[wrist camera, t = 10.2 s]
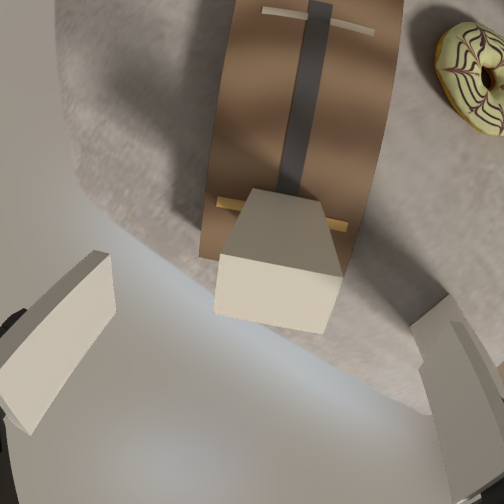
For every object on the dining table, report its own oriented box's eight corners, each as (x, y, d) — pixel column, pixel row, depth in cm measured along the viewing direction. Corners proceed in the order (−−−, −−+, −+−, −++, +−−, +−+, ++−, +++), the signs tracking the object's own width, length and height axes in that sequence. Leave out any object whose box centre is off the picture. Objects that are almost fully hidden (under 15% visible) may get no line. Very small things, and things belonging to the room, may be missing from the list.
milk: (408, 326, 31) (465, 506, 11) (449, 292, 28) (539, 461, 8) (430, 350, 32) (481, 507, 12) (468, 320, 29) (541, 470, 10)
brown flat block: (250, -15, 18) (243, -34, 15) (388, 13, 18) (404, -1, 14) (210, 238, 29) (198, 257, 25) (335, 262, 28) (341, 285, 25)
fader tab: (252, 188, 22) (220, 253, 12) (320, 201, 22) (343, 277, 12) (246, 226, 23) (213, 313, 13) (311, 238, 23) (322, 334, 13)
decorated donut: (457, 7, 16) (475, -2, 12) (524, 86, 17) (546, 87, 14) (409, 73, 20) (427, 68, 17) (485, 153, 22) (506, 160, 18)
